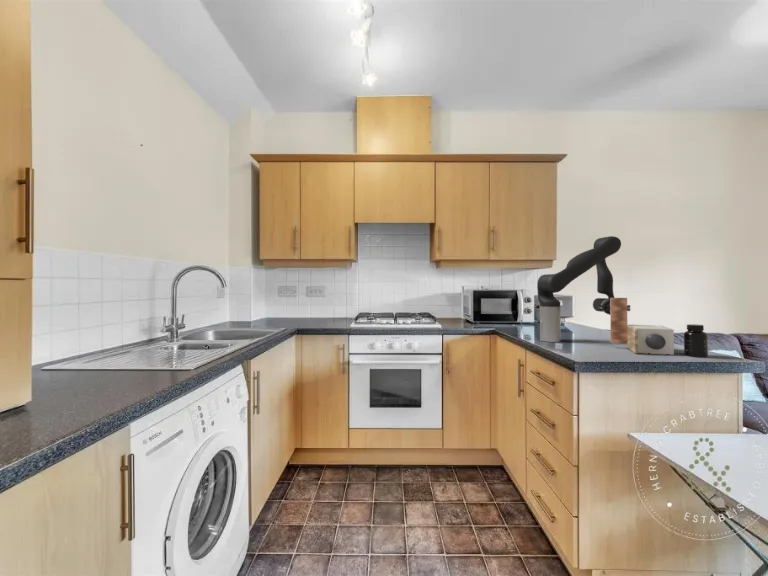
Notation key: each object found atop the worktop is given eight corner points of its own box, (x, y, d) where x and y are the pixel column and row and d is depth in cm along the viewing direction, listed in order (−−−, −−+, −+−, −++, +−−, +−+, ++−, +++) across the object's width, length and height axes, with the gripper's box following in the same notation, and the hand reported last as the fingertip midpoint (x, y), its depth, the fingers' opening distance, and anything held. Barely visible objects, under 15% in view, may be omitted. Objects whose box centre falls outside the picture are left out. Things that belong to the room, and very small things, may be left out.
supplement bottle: (698, 354, 135) (697, 323, 135) (713, 357, 128) (712, 325, 128) (679, 354, 136) (679, 323, 136) (693, 357, 129) (692, 325, 129)
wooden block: (617, 352, 139) (616, 299, 139) (610, 346, 151) (610, 297, 151) (637, 353, 136) (637, 299, 136) (629, 347, 149) (629, 297, 148)
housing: (637, 353, 137) (637, 328, 137) (628, 347, 152) (628, 324, 151) (675, 355, 132) (675, 330, 132) (662, 348, 147) (661, 325, 146)
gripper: (594, 298, 169) (600, 300, 153) (627, 299, 163) (636, 300, 147) (594, 314, 169) (600, 317, 153) (627, 314, 163) (636, 318, 147)
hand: (618, 309), depth 150 cm, fingers closed
